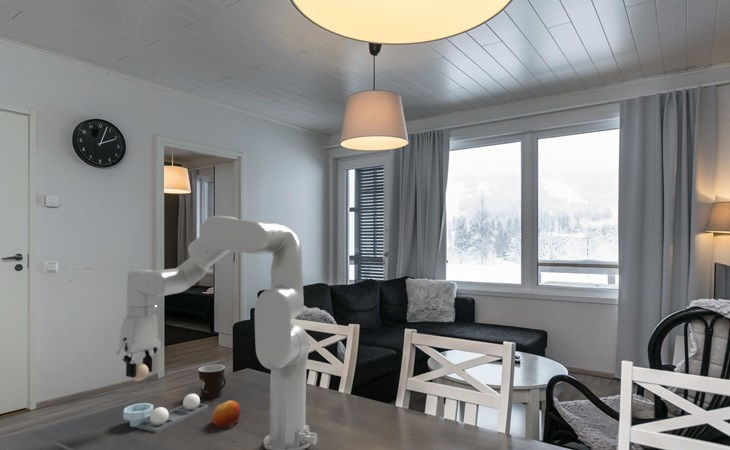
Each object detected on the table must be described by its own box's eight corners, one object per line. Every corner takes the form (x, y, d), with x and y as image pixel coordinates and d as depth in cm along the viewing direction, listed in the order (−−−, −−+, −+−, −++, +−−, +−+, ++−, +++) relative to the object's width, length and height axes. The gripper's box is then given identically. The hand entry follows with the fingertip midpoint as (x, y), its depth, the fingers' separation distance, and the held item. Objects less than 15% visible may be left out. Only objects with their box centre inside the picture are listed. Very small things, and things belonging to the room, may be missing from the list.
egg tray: (208, 409, 145) (208, 404, 145) (156, 434, 127) (156, 429, 127) (191, 405, 148) (191, 401, 148) (137, 430, 129) (137, 425, 129)
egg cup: (159, 422, 134) (159, 405, 135) (136, 433, 127) (136, 414, 127) (140, 418, 138) (140, 401, 138) (116, 428, 130) (117, 410, 131)
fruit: (238, 427, 128) (225, 401, 129) (216, 439, 130) (203, 414, 131) (251, 416, 136) (239, 392, 137) (230, 428, 138) (218, 404, 139)
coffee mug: (196, 395, 158) (197, 366, 158) (222, 392, 162) (223, 363, 162) (199, 406, 148) (200, 375, 148) (227, 402, 151) (227, 372, 152)
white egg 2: (203, 408, 145) (203, 392, 145) (191, 413, 140) (191, 397, 140) (191, 406, 147) (191, 390, 147) (179, 411, 142) (179, 395, 142)
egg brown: (140, 377, 136) (140, 360, 136) (152, 379, 134) (152, 362, 134) (125, 382, 132) (125, 364, 132) (137, 384, 130) (138, 366, 130)
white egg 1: (172, 424, 132) (172, 406, 133) (157, 428, 128) (158, 409, 129) (160, 422, 135) (161, 404, 136) (145, 426, 130) (146, 408, 131)
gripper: (155, 306, 143) (153, 365, 142) (105, 315, 127) (103, 380, 127) (173, 308, 140) (171, 368, 139) (124, 317, 124) (122, 384, 124)
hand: (139, 373), depth 133 cm, fingers closed on egg brown, 4 cm apart
